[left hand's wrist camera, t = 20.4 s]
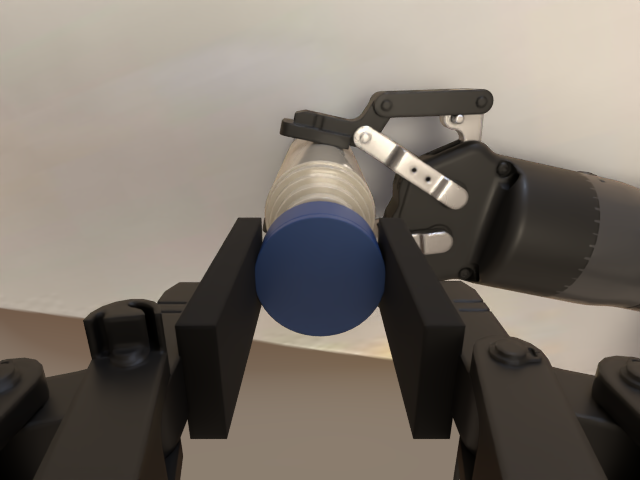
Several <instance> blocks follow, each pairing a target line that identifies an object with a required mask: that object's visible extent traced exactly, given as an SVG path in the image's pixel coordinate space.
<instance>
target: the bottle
mask: <svg viewBox="0 0 640 480" xmlns="http://www.w3.org/2000/svg"><path fill="white" fill-rule="evenodd" d="M314 201H327V202H333V203H337V204H340V205H343V206H345V207H348V208H350V209H351V210H353V211H355V212H356V213H358V214H359V215H360V216H361V217H362V218H363V219H364V220H365V221H366V222H367V223H368V224H369V226H370V227H371V229H372V231H373V230H374V224H375V204H374V200H373V196H372V194H371V192H370V189H369V187H368V185H367V183H366V181H365V178H364V176H363V174H362V172H361V169H360V167H359V165H358V163H357V161H356V158H355V156H354V154H353V152H352V149H351V147H350V145H349V149H348V150H347V149H343V148H338V147H334V146H330V145H324V144H320V143H315V142H310V141H306V140H301V139H297V138H296V139H295V140H294V142H293V143H292V144H291V146H290V148H289V150H288V152H287V154H286V157H285V159H284V161H283V163H282V166H281V168H280V170H279V172H278V174H277V177H276V179H275V181H274V183H273V185H272V188H271V190H270V192H269V194H268V197H267V200H266V205H265V222H266V229H267V231H268V229H269V228H270V226H271V225H272V223H273V222H274V221H275V220H276V219H277V218H278V217H279V216H280V215H281V214H283V213H284V212H286V211H287V210H289V209H291V208H293V207H295V206H297V205H300V204H303V203H307V202H314Z"/></svg>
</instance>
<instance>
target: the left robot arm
mask: <svg viewBox="0 0 640 480" xmlns="http://www.w3.org/2000/svg"><path fill="white" fill-rule="evenodd" d="M262 243H263V242H262V222H261V218H238V219H237V221H236V223H235V224H234V226H233V228H232V229H231V231H230V233H229V234H228V236H227V238H226V240H225V241H224V243H223V245H222V246H221V248H220V250H219V251H218V253H217V255H216V256H215V258H214V260H213V262H212V263H211V265H210V267H209V268H208V270H207V272H206V273H205V275H204V277H203V278H202V280H201V282H179V283H178V284H176V285H175V286H173V287H171V288H170V289H168V290H167V291H165V292H164V294H163V295H162V296H161V298H160V299H159V300H158V302H157V303H155V302H153V301H149V300H145V299H129V300H123V301H118V302H114V303H111V304H108V305H105V306H102V307H100V308H99V309H97V310H95V311H93V312H91V313H90V314H89V315H88V316H87V317H86V318H85V319H84V320H83V322H84V326H85V330H86V335H87V339H88V344H89V348H90V353H91V357H92V360H91V363H90V365H89V367H88V369H85V370H81V371H77V372H72V373H67V374H62V375H57V376H52V377H47V378H46V377H45V373H44V370H43V366H42V364H40V363H39V362H38V361H37V360H34V359H29V358H16V359H6V360H2V361H0V480H180V476H181V468H182V460H183V452H182V445H181V438H180V437H181V434H182V432H183V429H184V427H185V424H186V422H187V419H188V425H189V432H190V438H191V439H227V436H228V433H229V429H230V425H231V421H232V417H233V413H234V409H235V406H236V402H237V398H238V394H239V390H240V386H241V382H242V378H243V375H244V371H245V367H246V363H247V359H248V355H249V351H250V348H251V344H252V340H253V336H254V332H255V328H256V325H257V321H258V317H259V313H260V309H261V305H262V304H261V302H260V300H259V298H258V296H257V292H256V283H255V264H256V260H257V257H258V254H259V251H260V248H261V246H262ZM378 245H379V248H380V251H381V254H382V257H383V260H384V263H385V286H384V293H383V296H382V298H381V301H380V302H379V308H380V312H381V316H382V320H383V324H384V328H385V331H386V335H387V339H388V343H389V347H390V351H391V355H392V358H393V362H394V366H395V370H396V374H397V378H398V382H399V385H400V389H401V393H402V397H403V401H404V405H405V408H406V412H407V416H408V420H409V424H410V428H411V432H412V435H413V439H450V434H451V426H452V419H454V421H455V424H456V427H457V429H458V432H459V434H460V438H459V445H458V452H457V458H456V465H455V472H454V479H453V480H459V479H460V480H640V359H639V358H635V357H625V356H612V357H607V358H604V359H603V360H602V361H600V362H599V364H598V367H597V371H596V374H595V376H593V375H588V374H583V373H578V372H573V371H568V370H563V369H559V368H555V367H552V366H551V364H550V362H549V360H548V358H547V357H546V356H545V355H544V353H543V352H542V351H541V350H540V349H538V348H537V347H535V346H534V345H532V344H531V343H528V342H526V341H523V340H521V339H518V338H515V337H510V336H509V335H508V334H507V332H506V331H505V330H504V328H503V327H502V325H501V324H500V323H499V321H498V320H497V319H496V317H495V316H494V315H493V313H492V312H490V311H489V310H490V309H489V308H488V307H487V305H486V304H485V303H483V300H482V298H481V297H480V296H479V294H478V293H477V292H476V290H475V289H473V288H471V287H470V286H468V285H467V284H465V283H463V282H462V281H439V280H438V278H437V276H436V275H435V273H434V271H433V270H432V268H431V266H430V265H429V263H428V261H427V259H426V258H425V256H424V254H423V253H422V251H421V249H420V248H419V246H418V244H417V243H416V241H415V239H414V237H413V236H412V234H411V232H410V231H409V229H408V227H407V226H406V224H405V222H404V221H403V219H402V218H379V226H378Z"/></svg>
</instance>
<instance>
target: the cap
mask: <svg viewBox="0 0 640 480" xmlns="http://www.w3.org/2000/svg"><path fill="white" fill-rule="evenodd" d="M255 283H256V292H257V296H258V298H259V300H260V302H261V304H262V306H263V307H264V309H265V310H266V311H267V312H268V314H269V315H270V316H271V317H272V318H273V319H274V320H275V321H277V322H278V323H279V324H281V325H282V326H284V327H286V328H288V329H290V330H292V331H294V332H297V333H301V334H304V335H310V336H330V335H336V334H340V333H343V332H346V331H348V330H350V329H353V328H354V327H356V326H358V325H359V324H361V323H362V322H363V321H365V320H366V319H367V318H368V317H369V316H370V315H371V314H372V313H373V311H374V310H375V309H376V307H377V306H378V304H379V302H380V301H381V298H382V296H383V293H384V286H385V263H384V260H383V257H382V254H381V251H380V248H379V245H378V242H377V240H376V237H375V235H374V233H373V231H372V229H371V227H370V226H369V224H368V223H367V222H366V221H365V220H364V219H363V218H362V217H361V216H360V215H359V214H358V213H356V212H355V211H353V210H351V209H350V208H348V207H345V206H343V205H340V204H337V203H333V202H327V201H314V202H307V203H303V204H300V205H297V206H295V207H293V208H291V209H289V210H287V211H286V212H284V213H283V214H281V215H280V216H279V217H278V218H277V219H276V220H275V221H274V222H273V223H272V225H271V226H270V228H269V229H268V231H267V233H266V235H265V237H264V240H263V243H262V246H261V248H260V251H259V254H258V257H257V260H256V264H255Z"/></svg>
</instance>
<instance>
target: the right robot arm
mask: <svg viewBox="0 0 640 480" xmlns="http://www.w3.org/2000/svg"><path fill="white" fill-rule="evenodd" d="M492 105H493V96H492V94H491V93H490V92H489V91H488V90H485V89H469V88H463V89H435V90H407V91H380V92H376V93H374V94H373V95H372V97H371V98H370V102H369V103H368V105H367V106H366V108H365V110H364V111H363V113H362V114H361V115H360V116H359V117H357V118H355V119H345V118H341V117H336V116H332V115H327V114H323V113H318V112H314V111H309V110H302V111H296V113H295V116H294V120H293V119H287V118H284V119H283V120H282V123H281V129H280V134H281V135H284V136H288V137H292V138H297V139H301V140H306V141H310V142H315V143H320V144H324V145H330V146H334V147H338V148H343V149H347V150H348V149H349V145H350V146H354V147H358V148H360V149H361V150H363V151H364V152H366V153H367V154H369V155H370V156H372V157H374V158H375V159H377V160H378V161H380V162H381V163H383V164H384V165H386V166H387V167H388V168H390V169H391V170H393V171H394V172H396V174H395V178H394V181H393V197H392V199H391V201H390V202H389V204H388V206H387V207H386V210H385V213H384V217H383V218H402V219H403V221H404V222H405V224H406V226H407V227H408V229H409V231H410V232H411V234H412V236H413V237H414V239H415V241H416V243H417V244H418V246H419V248H420V249H421V251H422V253H423V254H424V256H425V258H426V259H427V261H428V263H429V265H430V266H431V268H432V270H433V271H434V273H435V275H436V276H437V278H438V280H439V281H445V280H449V279H461V280H464V281H468V282H471V283H475V284H480V285H485V286H490V287H495V288H500V289H505V290H511V291H516V292H521V293H526V294H531V295H536V296H541V297H546V298H551V299H556V300H562V301H567V302H572V303H577V304H584V305H594V306H613V307H619V308H624V309H629V310H634V311H639V312H640V189H638V188H636V187H633V186H631V185H628V184H625V183H622V182H619V181H615V180H612V179H607V178H602V177H598V176H597V175H594V174H592V173H589V172H582V171H578V172H575V171H571V170H567V169H562V168H558V167H553V166H548V165H544V164H539V163H535V162H530V161H526V160H521V159H517V158H512V157H508V156H503V155H499V154H496V153H494V152H493V151H492V150H491V149H490V148H489V147H488V146H487V145H485V144H484V143H482V142H481V135H482V125H483V115H484V113H486V112H488V111H489V110H490V109H491V107H492ZM420 116H440V122H441V124H442V125H443V126H444V127H447V128H449V129H453V130H456V131H457V133H458V135H459V140H456V141H454V142H452V143H449V144H447V145H445V146H442V147H440V148H438V149H435V150H433V151H431V152H428V153H426V154H424V155H421V156H419V157H418V156H416V155H415V154H413V153H412V152H410V151H409V150H407V149H406V148H404V147H402V146H401V145H399V144H398V143H396V142H395V141H393V140H392V139H390V138H388V137H387V136H385V135H384V134H382V133H381V131H382V130H383V128H384V127H385V125H386V124H387V122H388V120H389V119H390V118H392V117H420ZM378 226H379V219H375V224H374V230H373V233H374V235H375V237H376V240H377V242H378ZM263 231H264V232H265V233H267V229H266V222H265V218H264V224H263ZM378 307H379V304H378Z"/></svg>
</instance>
